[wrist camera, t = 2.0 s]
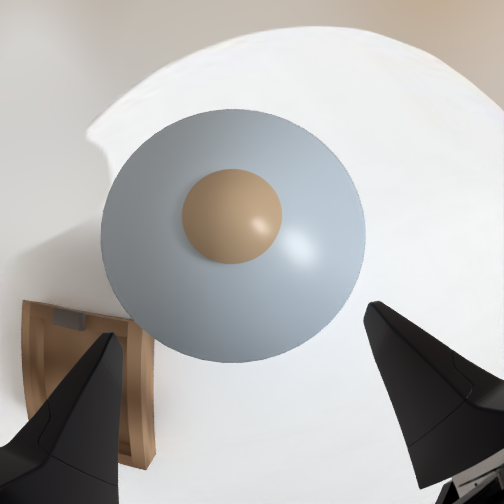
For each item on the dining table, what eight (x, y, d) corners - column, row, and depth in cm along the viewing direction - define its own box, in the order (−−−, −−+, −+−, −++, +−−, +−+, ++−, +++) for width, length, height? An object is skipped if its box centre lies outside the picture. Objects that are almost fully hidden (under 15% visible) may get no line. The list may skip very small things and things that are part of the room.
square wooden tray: (155, 454, 16) (143, 476, 12) (47, 419, 15) (24, 430, 12) (155, 321, 18) (138, 322, 15) (42, 301, 18) (16, 297, 14)
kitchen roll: (281, 332, 19) (368, 363, 6) (182, 325, 18) (83, 342, 6) (285, 236, 20) (354, 120, 7) (190, 230, 20) (132, 107, 7)
